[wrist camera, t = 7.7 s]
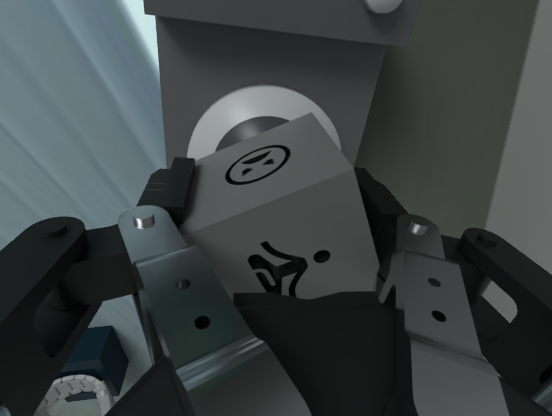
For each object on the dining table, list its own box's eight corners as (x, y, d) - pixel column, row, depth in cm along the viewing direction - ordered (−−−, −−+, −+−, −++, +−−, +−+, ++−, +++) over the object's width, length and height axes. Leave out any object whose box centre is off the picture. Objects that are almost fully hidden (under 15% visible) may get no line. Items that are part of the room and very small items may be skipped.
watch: (34, 333, 26) (-71, 508, 17) (132, 323, 27) (82, 485, 18) (60, 370, 29) (-18, 535, 20) (148, 360, 30) (111, 514, 21)
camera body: (172, -69, 14) (126, -127, 8) (363, -36, 15) (449, -64, 9) (184, 201, 21) (166, 278, 15) (312, 206, 23) (342, 278, 17)
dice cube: (195, 160, 13) (177, 237, 8) (311, 111, 12) (354, 168, 8) (246, 246, 15) (251, 336, 11) (342, 209, 15) (386, 289, 11)
